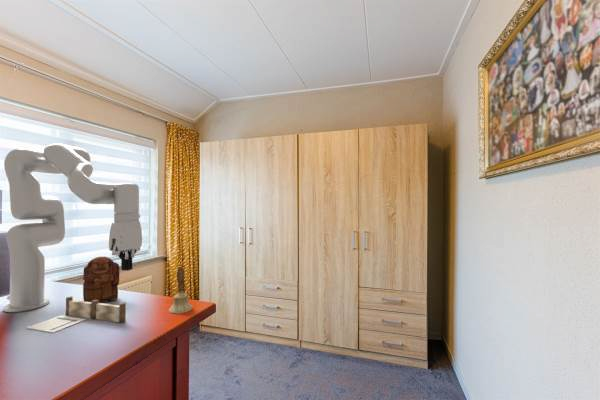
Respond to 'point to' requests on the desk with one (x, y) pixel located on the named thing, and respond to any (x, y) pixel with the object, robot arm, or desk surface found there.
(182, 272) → the hand bell
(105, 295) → the wooden figurine
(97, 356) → the desk surface
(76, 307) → the fence fixed
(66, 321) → the card
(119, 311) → the fence panel
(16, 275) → the robot arm
